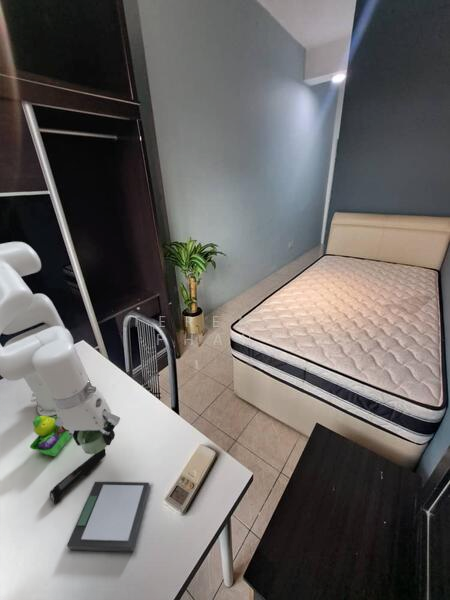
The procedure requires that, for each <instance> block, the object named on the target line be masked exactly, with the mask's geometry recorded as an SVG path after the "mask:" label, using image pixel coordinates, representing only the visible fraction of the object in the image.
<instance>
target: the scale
mask: <svg viewBox="0 0 450 600" xmlns="http://www.w3.org/2000/svg"><path fill="white" fill-rule="evenodd" d="M150 490H151V486H150V482H145V481H144V482H143V481H141V482H140V481H139V482H137V481H135V482H134V481H94V483H93V485H92V487H91V490H90V492H89V494H88V497H87V499H86V501H85V503H84V506H83V508H82V510H81V513H80V515H79V517H78V519H77V522H76V525H75V526H74V528H73V531H72V533H71V536H70V538H69V540H68V542H67V544H66V547H67V548H68V549H69V550H70V551H71V550H72V551H93V552H94V551H97V552H98V551H99V552H124V553H125V552H126V553H127V552H128V553H129V552H130V553H133V552H134V551H135V547H136V543H137V539H138V535H139V531H140V528H141V524H142V521H143V516H144V513H145V509H146V505H147V501H148V497H149V494H150Z"/></svg>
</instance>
